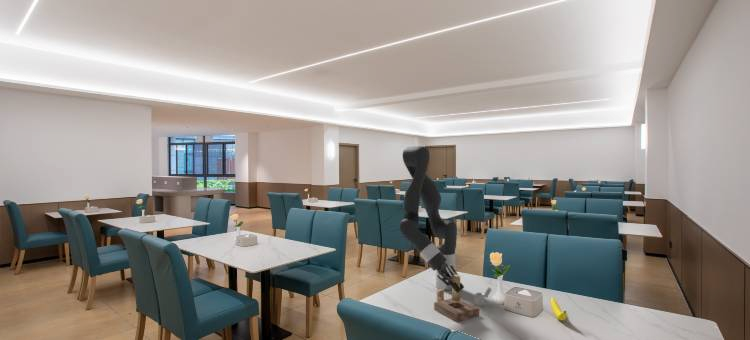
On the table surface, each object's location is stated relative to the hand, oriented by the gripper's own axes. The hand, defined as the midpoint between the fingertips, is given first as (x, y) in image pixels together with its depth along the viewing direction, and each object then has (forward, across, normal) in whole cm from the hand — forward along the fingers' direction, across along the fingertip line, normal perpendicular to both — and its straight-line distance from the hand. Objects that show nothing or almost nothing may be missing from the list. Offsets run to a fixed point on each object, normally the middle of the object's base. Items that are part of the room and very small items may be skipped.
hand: (460, 289), depth 153 cm
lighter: (+11, +13, +3) cm, 17 cm away
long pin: (+2, 0, +5) cm, 5 cm away
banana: (+32, +16, -18) cm, 40 cm away
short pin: (-2, +10, +16) cm, 19 cm away
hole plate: (+6, 0, +8) cm, 10 cm away
